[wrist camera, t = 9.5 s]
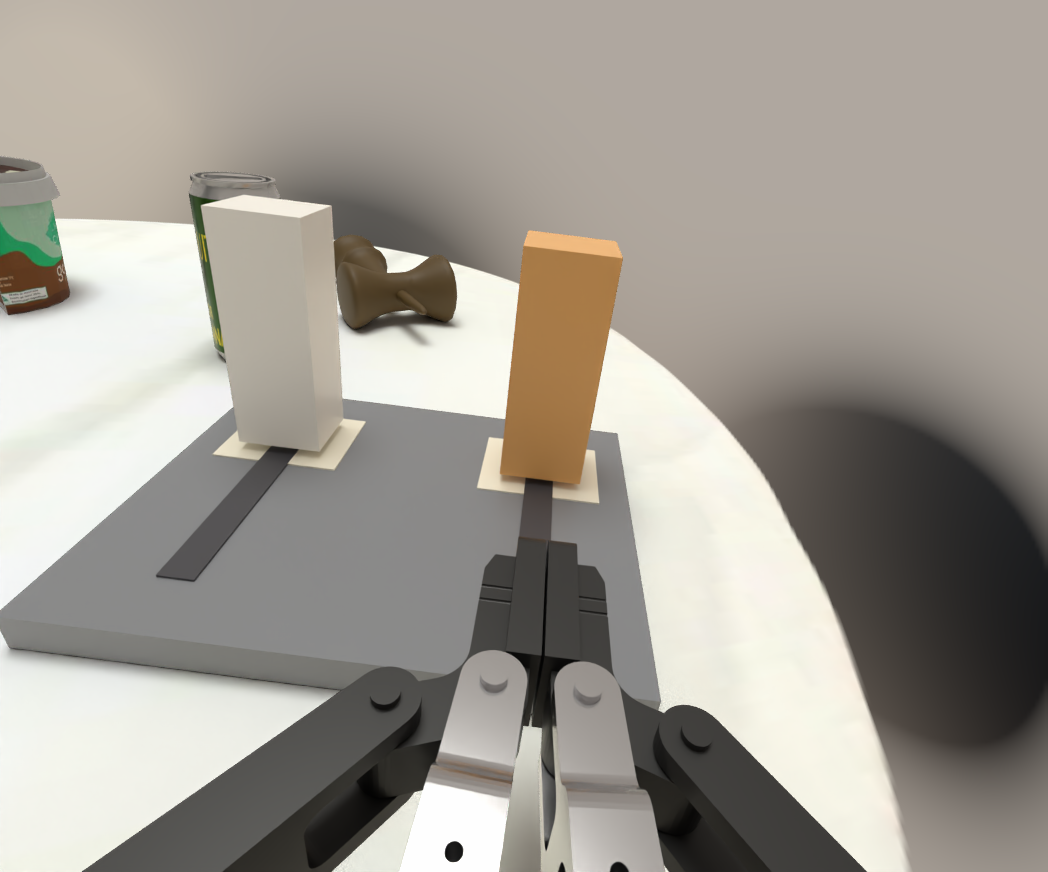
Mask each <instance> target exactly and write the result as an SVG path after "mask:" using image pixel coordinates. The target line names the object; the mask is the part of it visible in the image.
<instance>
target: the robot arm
mask: <svg viewBox="0 0 1048 872" xmlns="http://www.w3.org/2000/svg"><path fill="white" fill-rule="evenodd" d="M607 614H608V612H607V603H606V589H605V582H604V580H603V578H602V577H601V575H600V573H599V572H598V570H597V568H596V567H595V566H587V565H579V564H578V555H577V544H576V543H569V542H561V541H553V540H548V544H547V550H546V540H544V539H536V538H528V537H520V536H519V537H518V544H517V551H516V557H515V556H507V555H499V554H495V555H494V557H493V558H492V559H491V560H490V561H489V563H488V564H487V565H486V566H485V568H484V574H483V579H482V586H481V591H480V596H479V602H478V607H477V613H476V618H475V624H474V630H473V635H472V641H471V646H470V651H469V654H468V656H467V658H466V660H465V661H464V663H463V664H462V665H461V666H460V667H459V668H457V669H456V670H455V671H453V672H451V673H450V674H447V675H445V676H442V677H438V678H433V679H427V680H422V681H418V680H417V679H416V677H415V676H414V675H413V674H412V673H410V672H409V671H407V670H405V669H402V668H399V667H392V666H387V667H380V668H377V669H374V670H372V671H369V672H368V673H366V674H364V675H363V676H362V677H360V678H359V679H357V680H356V681H354V682H353V683H352V684H350V685H349V686H347V687H346V688H344V689H343V690H341V691H340V692H339V693H337V694H336V695H334V696H333V697H331V698H330V699H329V700H327V701H326V702H324V703H323V704H321V705H320V706H319V707H317V708H316V709H314V710H313V711H311V712H310V713H309V714H307V715H306V716H304V717H303V718H301V719H300V720H298V721H297V722H296V723H294V724H293V725H291V726H290V727H288V728H287V729H286V730H284V731H283V732H281V733H280V734H278V735H277V736H276V737H274V738H273V739H271V740H270V741H268V742H267V743H265V744H264V745H263V746H261V747H260V748H258V749H257V750H255V751H254V752H253V753H251V754H250V755H248V756H247V757H245V758H244V759H243V760H241V761H240V762H238V763H237V764H235V765H234V766H233V767H231V768H230V769H228V770H227V771H225V772H224V773H222V774H221V775H220V776H218V777H217V778H215V779H214V780H212V781H211V782H210V783H208V784H207V785H205V786H204V787H202V788H201V789H200V790H198V791H197V792H195V793H194V794H192V795H191V796H189V797H188V798H187V799H185V800H184V801H182V802H181V803H179V804H178V805H177V806H175V807H174V808H172V809H171V810H169V811H168V812H167V813H165V814H164V815H162V816H161V817H159V818H158V819H157V820H155V821H154V822H152V823H151V824H149V825H148V826H146V827H145V828H144V829H142V830H141V831H139V832H138V833H136V834H135V835H134V836H132V837H131V838H129V839H128V840H126V841H125V842H124V843H122V844H121V845H119V846H118V847H116V848H115V849H113V850H112V851H111V852H109V853H108V854H106V855H105V856H103V857H102V858H101V859H99V860H98V861H96V862H95V863H93V864H92V865H91V866H89V867H88V868H86V869H85V870H83V871H82V872H332V871H333V870H334V869H335V868H336V867H337V866H338V865H339V864H340V863H341V862H342V861H343V860H345V859H346V858H347V857H348V856H349V855H350V854H351V853H352V852H353V851H354V850H355V849H356V848H357V847H359V846H360V845H361V844H362V843H363V842H364V841H365V840H366V839H367V838H368V837H369V836H370V835H371V834H372V833H374V832H375V831H376V830H377V829H378V828H379V827H380V826H381V825H382V824H383V823H384V822H385V821H386V820H387V819H389V818H390V817H391V816H392V815H393V814H394V813H395V812H396V811H397V810H398V809H399V808H400V807H401V806H402V805H404V804H405V803H406V802H407V801H408V800H409V799H410V797H411V796H412V795H413V793H414V792H417V791H421V790H423V793H422V796H421V800H420V803H419V806H418V810H417V813H416V817H415V820H414V824H413V827H412V831H411V834H410V838H409V841H408V845H407V848H406V852H405V855H404V859H403V862H402V866H401V869H400V872H499V866H500V859H501V853H502V846H503V840H504V833H505V827H506V820H507V814H508V807H509V801H510V794H511V788H512V781H513V773H514V766H515V760H516V757H517V755H518V752H519V747H520V741H521V736H522V730H523V726H529V721H530V715H531V710H532V727H539V728H542V741H541V751H540V755H539V760H538V778H539V809H540V840H541V871H540V872H665V868H664V866H665V867H666V868H667V870H668V871H669V872H867V871H866V870H865V869H864V868H863V867H862V866H861V865H860V864H859V863H858V862H857V861H856V860H855V859H854V858H853V857H852V856H851V855H850V854H849V853H848V852H847V851H846V850H845V849H844V848H843V847H842V846H841V845H840V844H839V843H838V842H837V841H836V840H835V839H834V838H833V837H832V836H831V835H830V834H829V833H828V832H827V831H826V830H825V829H824V828H823V827H822V826H821V825H820V824H819V823H818V822H817V821H816V820H815V819H814V818H813V817H812V816H811V815H810V814H809V813H808V812H807V811H806V810H805V809H804V808H803V807H802V806H801V804H800V803H799V802H798V801H797V800H796V799H795V798H794V797H793V796H792V795H791V794H790V793H789V792H788V791H787V790H786V789H785V788H784V787H783V786H782V785H781V784H780V783H779V782H778V781H777V780H776V779H775V778H774V777H773V776H772V775H771V774H770V773H769V772H768V771H767V770H766V769H765V768H764V767H763V766H762V765H761V764H760V763H759V762H758V761H757V760H756V759H755V758H754V757H753V756H752V755H751V754H750V753H749V752H748V751H747V750H746V749H745V748H744V747H743V746H742V745H741V744H740V743H739V742H738V741H737V740H736V739H735V738H734V737H733V736H732V735H731V734H730V733H729V732H728V731H727V729H726V728H725V727H724V726H723V725H722V724H721V723H720V722H719V721H718V720H716V719H715V718H714V717H713V716H712V715H710V714H709V713H708V712H706V711H704V710H702V709H700V708H697V707H694V706H690V705H678V706H674V707H672V708H670V709H668V710H667V711H666V712H665V713H662V712H660V711H658V710H656V709H653V708H651V707H649V706H646V705H644V704H642V703H640V702H638V701H636V700H635V699H633V698H632V697H631V696H629V695H628V694H627V693H626V692H625V691H624V690H623V689H622V688H621V686H620V685H619V684H618V682H617V680H616V678H615V676H614V673H613V669H612V659H611V647H610V636H609V624H608V617H607ZM532 705H533V709H532Z"/></svg>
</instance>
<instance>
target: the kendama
mask: <svg viewBox="0 0 1048 872" xmlns="http://www.w3.org/2000/svg"><path fill="white" fill-rule="evenodd" d="M334 259H335V277H336V279H337V293H338V300H339V305H340V309H341V312H342V315H343V318H344V320H345V321H346V323H347V324H348V325H349V326H350V327H351V328H353V329H358V328H361V327H363V326H364V325H366V324H367V323H369V322H370V321H372V320H374V319H375V318H377V317H379V316H381V315H383V314H386V313H390V312H395V311H405V310H413V311H415V312H416V313H418V314H420V315H425V314H426V315H428V316H430V317H432V318H435V319H437V320H440V321H443V322H447V321H449V320H450V319H452V317H453V314H454V311H455V308H456V301H457V289H456V281H455V276H454V272H453V270H452V268H451V266H450V263H449V262H448V260H447V259H446V258H445V257H443V256H442V255H433V256H431V257H429V258H428V259H427V260H425V261H424V262H423V263H421V264H420V265H419V266H417V267H416V268H414V269H412V270H410V271H407V272H400V273H387V264H386V259H385V257H384V256H383V254H382V253H381V252H380V251H379V250H377V249H375V248H374V247H373V245H372V244H371V242H370V241H369V240H367V239H365V238H363V237H362V236H356V235H347V236H342V237H340V238H338V239H337V240H335V241H334Z"/></svg>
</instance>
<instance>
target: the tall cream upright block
mask: <svg viewBox="0 0 1048 872" xmlns="http://www.w3.org/2000/svg"><path fill="white" fill-rule="evenodd" d="M201 210H202V216H203V222H204V229H205V235H206V241H207V247H208V253H209V259H210V265H211V271H212V278H213V284H214V290H215V296H216V302H217V308H218V314H219V321H220V327H221V333H222V339H223V345H224V351H225V357H226V363H227V370H228V376H229V382H230V388H231V394H232V400H233V406H234V413H235V419H236V425H237V431H238V437H239V442H246V443H254V444H262V445H270V446H278V447H286V448H293V449H301V450H309V451H317V452H320V450H321V449H322V447H323V446H324V445H325V443H326V442H327V441H328V439H329V438H330V437H331V435H332V434H333V433H334V431H335V430H336V428H337V427H338V426H339V424H340V423H341V422H342V420H343V402H342V384H341V366H340V348H339V331H338V313H337V295H336V277H335V259H334V241H333V224H332V207H331V206H329V205H321V204H313V203H305V202H297V201H289V200H281V199H273V198H266V197H258V196H250V195H241V196H237V197H233V198H229V199H225V200H220V201H216V202H212V203H208V204H204V205H201Z"/></svg>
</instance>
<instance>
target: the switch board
mask: <svg viewBox="0 0 1048 872" xmlns="http://www.w3.org/2000/svg"><path fill="white" fill-rule="evenodd" d="M342 402H343V420H342V422H341V423H340V424H339V426H338V427H337V428H336V430H335V431H334V433H333V434H332V435H331V437H330V438H329V439H328V441H327V442H326V443H325V445H324V446H323V447H322V449H321V450H320V452H317V451H309V450H301V449H293V448H286V447H278V446H270V445H262V444H254V443H246V442H239V437H238V431H237V425H236V419H235V413H234V407H233V408H232V409H230V410H229V411H228V412H227V413H226V414H225V415H224V416H222V417H221V418H220V419H219V420H218V421H217V422H216V423H214V424H213V425H212V426H211V427H210V428H209V429H208V430H206V431H205V432H204V433H203V434H202V435H201V436H199V437H198V438H197V439H196V440H195V441H194V442H193V443H191V444H190V445H189V446H188V447H187V448H186V449H185V450H183V451H182V452H181V453H180V454H179V455H178V456H177V457H175V458H174V459H173V460H172V461H171V462H170V463H169V464H167V465H166V466H165V467H164V468H163V469H162V470H161V471H159V472H158V473H157V474H156V475H155V476H154V477H153V478H151V479H150V480H149V481H148V482H147V483H146V484H144V485H143V486H142V487H141V488H140V489H139V490H138V491H136V492H135V493H134V494H133V495H132V496H131V497H130V498H128V499H127V500H126V501H125V502H124V503H123V504H122V505H120V506H119V507H118V508H117V509H116V510H115V511H114V512H112V513H111V514H110V515H109V516H108V517H107V518H106V519H104V520H103V521H102V522H101V523H100V524H99V525H98V526H96V527H95V528H94V529H93V530H92V531H91V532H89V533H88V534H87V535H86V536H85V537H84V538H83V539H81V540H80V541H79V542H78V543H77V544H76V545H75V546H73V547H72V548H71V549H70V550H69V551H68V552H67V553H65V554H64V555H63V556H62V557H61V558H60V559H59V560H57V561H56V562H55V563H54V564H53V565H52V566H51V567H49V568H48V569H47V570H46V571H45V572H44V573H43V574H41V575H40V576H39V577H38V578H37V579H36V580H34V581H33V582H32V583H31V584H30V585H29V586H28V587H26V588H25V589H24V590H23V591H22V592H21V593H20V594H18V595H17V596H16V597H15V598H14V599H13V600H12V601H10V602H9V603H8V604H7V605H6V606H5V607H4V608H2V609H1V610H0V631H1V633H2V635H3V637H4V639H5V641H6V643H7V645H8V647H9V648H17V649H24V650H32V651H40V652H48V653H56V654H63V655H71V656H79V657H87V658H95V659H103V660H110V661H118V662H126V663H134V664H142V665H149V666H157V667H165V668H173V669H181V670H188V671H196V672H204V673H212V674H220V675H228V676H235V677H243V678H251V679H259V680H267V681H274V682H282V683H290V684H298V685H306V686H313V687H321V688H329V689H337V690H343V689H344V688H346V687H347V686H349V685H350V684H352V683H353V682H354V681H356V680H357V679H359V678H360V677H362V676H363V675H364V674H366V673H368V672H369V671H372V670H374V669H377V668H380V667H387V666H392V667H399V668H402V669H405V670H407V671H409V672H410V673H412V674H413V675H414V676H415V677H416V679H417V680H418V681H422V680H427V679H433V678H438V677H442V676H445V675H447V674H450V673H451V672H453V671H455V670H456V669H457V668H459V667H460V666H461V665H462V664H463V663H464V661H465V660H466V658H467V656H468V654H469V651H470V646H471V641H472V635H473V630H474V624H475V618H476V613H477V607H478V602H479V596H480V591H481V586H482V579H483V574H484V568H485V566H486V565H487V564H488V563H489V561H490V560H491V559H492V558H493V557H494V555H495V554H499V555H507V556H515V557H516V551H517V544H518V537H519V536H520V537H528V538H536V539H544V540H546V550H547V544H548V540H553V541H561V542H569V543H576V544H577V555H578V564H579V565H587V566H595V567H596V568H597V570H598V572H599V573H600V575H601V577H602V578H603V580H604V582H605V589H606V603H607V612H608V614H607V617H608V624H609V636H610V647H611V659H612V669H613V673H614V676H615V678H616V680H617V682H618V684H619V685H620V686H621V688H622V689H623V690H624V691H625V692H626V693H627V694H628V695H629V696H631V697H632V698H633V699H635V700H636V701H638V702H640V703H642V704H644V705H646V706H649V707H651V708H653V709H656V710H658V709H659V706H660V703H661V699H660V693H659V687H658V681H657V674H656V668H655V662H654V656H653V650H652V644H651V637H650V631H649V625H648V619H647V613H646V607H645V600H644V594H643V588H642V582H641V576H640V570H639V564H638V557H637V551H636V545H635V539H634V533H633V527H632V520H631V514H630V508H629V502H628V496H627V490H626V483H625V477H624V471H623V465H622V459H621V453H620V447H619V440H618V434H617V433H609V432H601V431H593V430H590V434H589V439H588V444H587V449H586V455H585V460H584V465H583V470H582V476H581V481H580V484H573V483H565V482H557V481H550V480H542V479H534V478H526V477H518V476H510V475H502V474H500V466H501V457H502V447H503V438H504V428H505V419H498V418H490V417H483V416H475V415H467V414H459V413H451V412H443V411H435V410H427V409H419V408H412V407H404V406H396V405H388V404H380V403H372V402H364V401H356V400H348V399H342ZM532 709H533V705H532ZM531 714H532V710H531Z"/></svg>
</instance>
